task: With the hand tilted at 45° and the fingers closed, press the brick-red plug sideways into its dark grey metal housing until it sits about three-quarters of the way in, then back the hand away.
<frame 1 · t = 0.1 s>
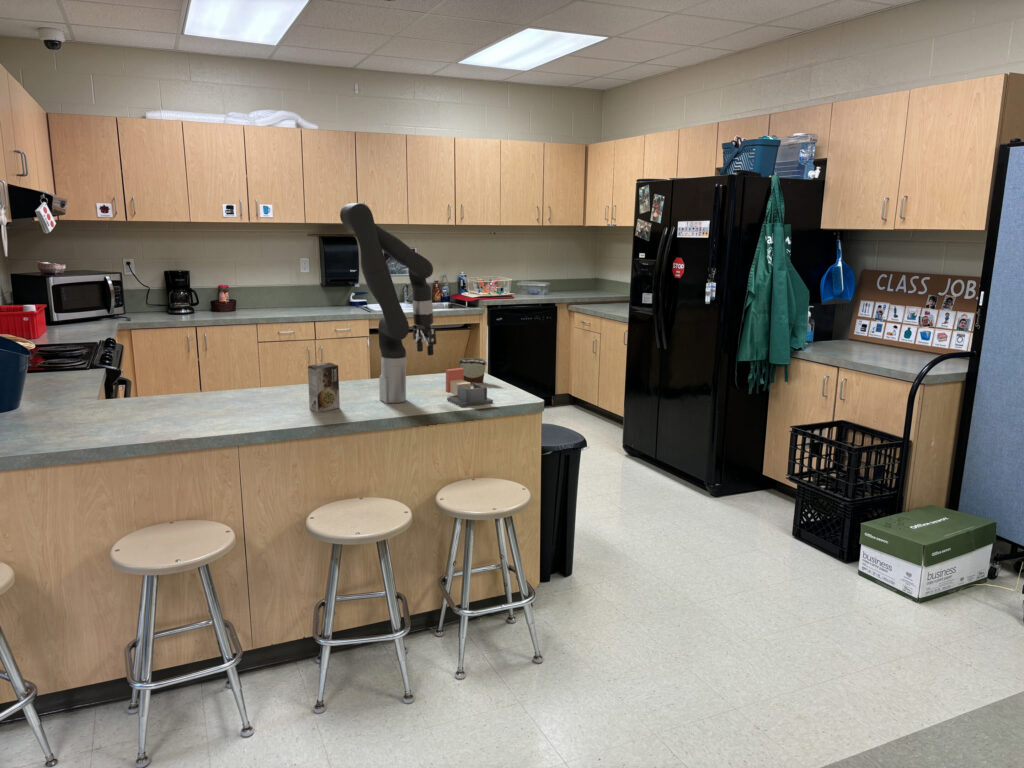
hand: (425, 353, 275), 17 cm above the worktop, tool pointing down, fingers open, 8 cm apart
food container: (473, 382, 307), on the worktop
red plug: (459, 382, 279), point 6 cm above the worktop, slide at 0.0 cm
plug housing: (469, 401, 274), on the worktop
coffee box: (324, 409, 258), on the worktop
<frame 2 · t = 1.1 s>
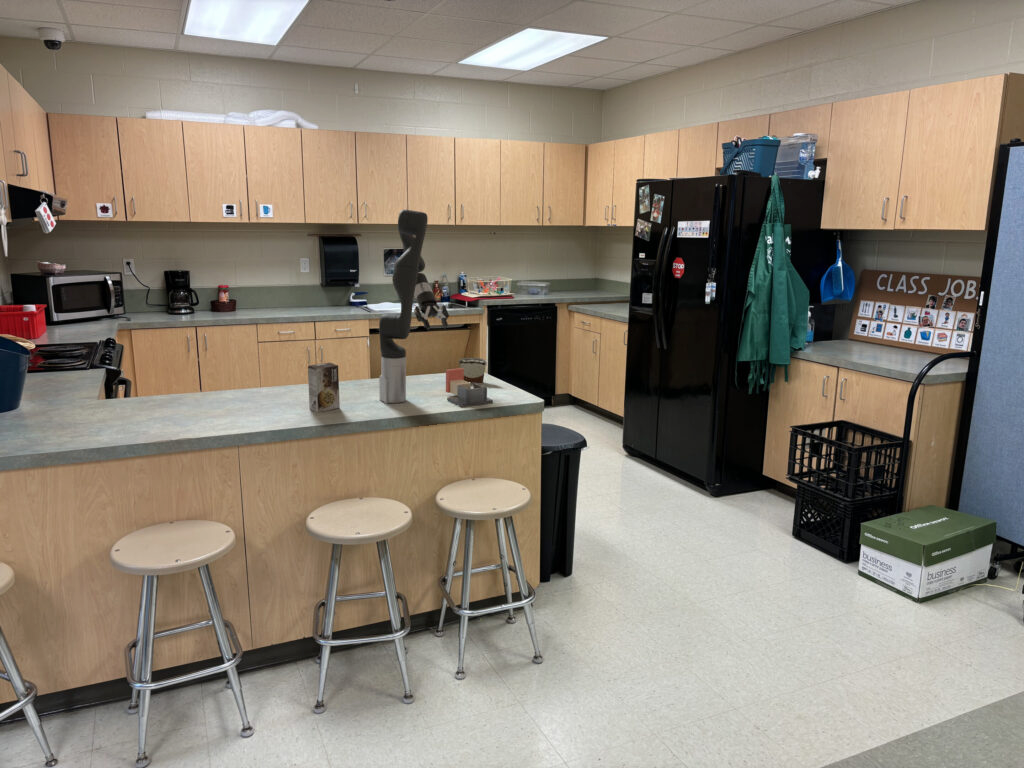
hand: (437, 327, 290), 25 cm above the worktop, tool tilted 45°, fingers open, 7 cm apart
nothing on the worktop moved.
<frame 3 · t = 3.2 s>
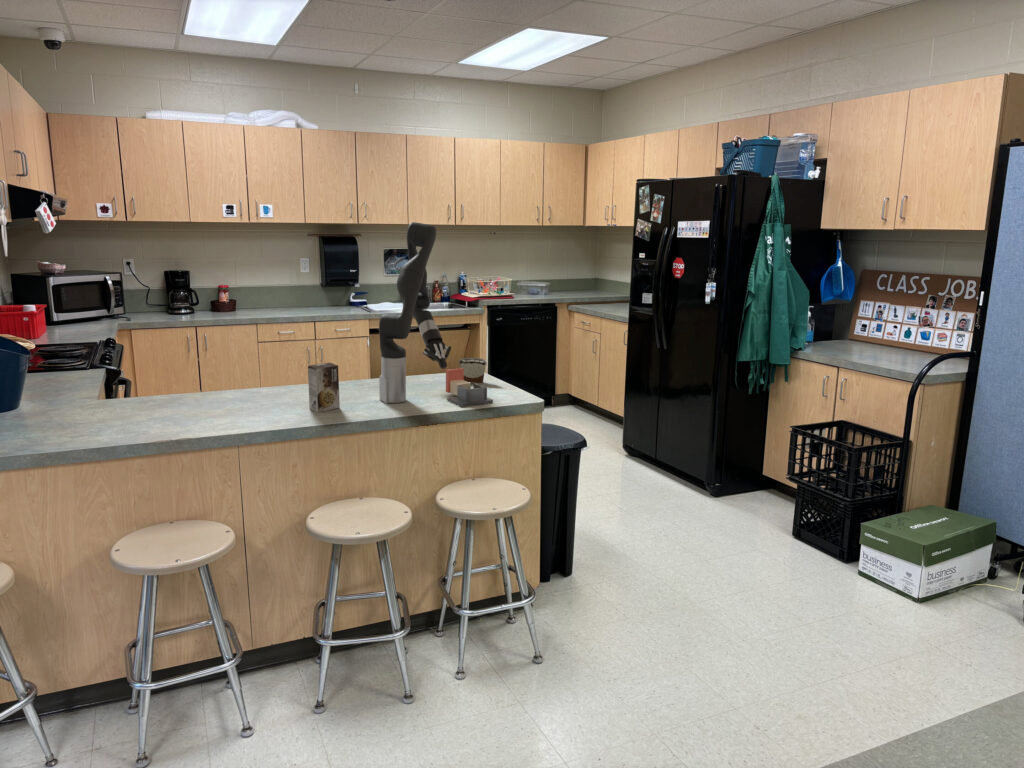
hand: (444, 367, 288), 9 cm above the worktop, tool tilted 45°, fingers closed
nothing on the worktop moved.
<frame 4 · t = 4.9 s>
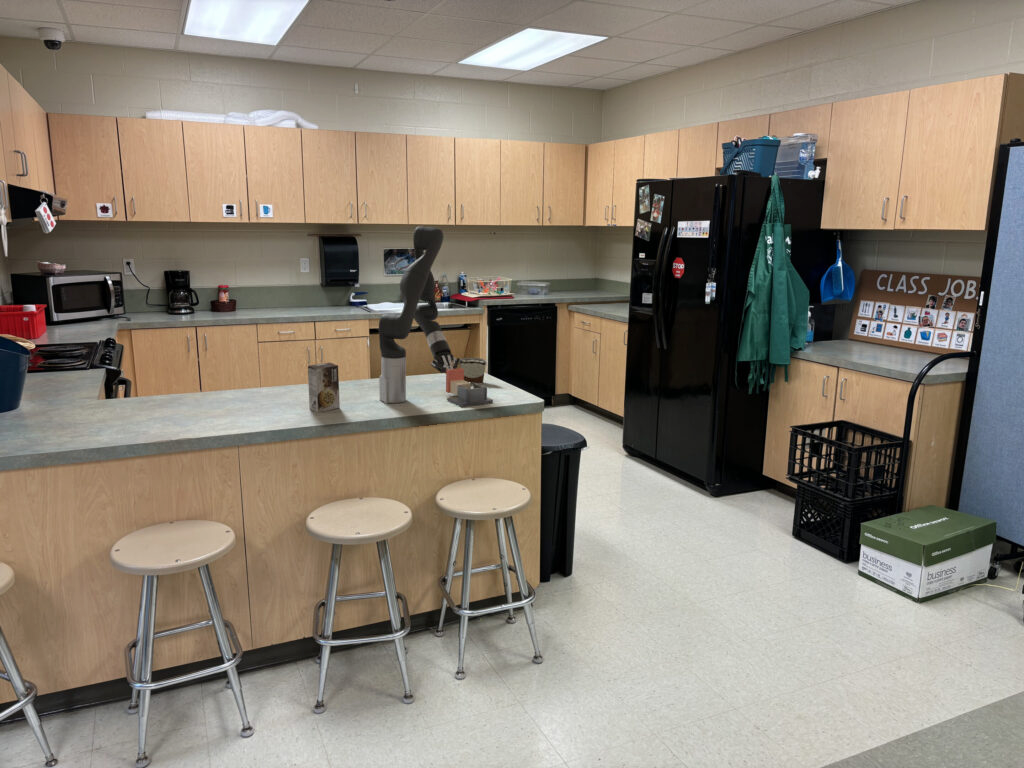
hand: (452, 379, 283), 6 cm above the worktop, tool tilted 45°, fingers closed
red plug: (459, 382, 279), point 6 cm above the worktop, slide at 0.2 cm, touching gripper
everything else where it was.
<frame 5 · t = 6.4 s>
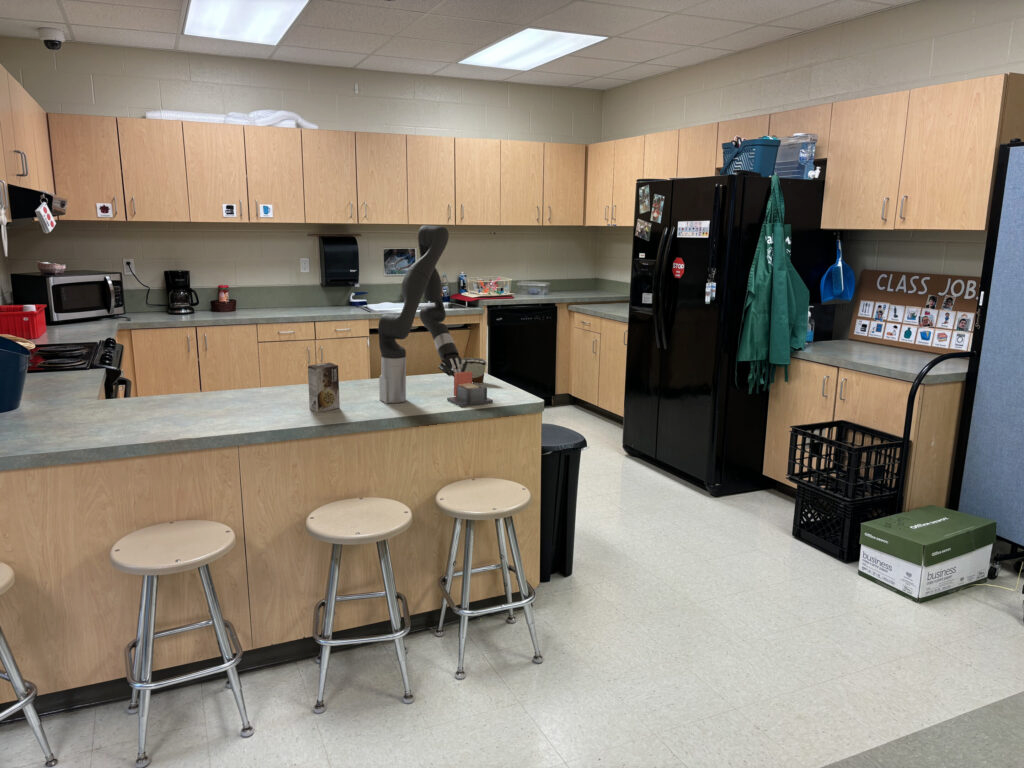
hand: (460, 383, 278), 6 cm above the worktop, tool tilted 45°, fingers closed
red plug: (467, 385, 274), point 6 cm above the worktop, slide at 6.5 cm, touching gripper
everything else where it was.
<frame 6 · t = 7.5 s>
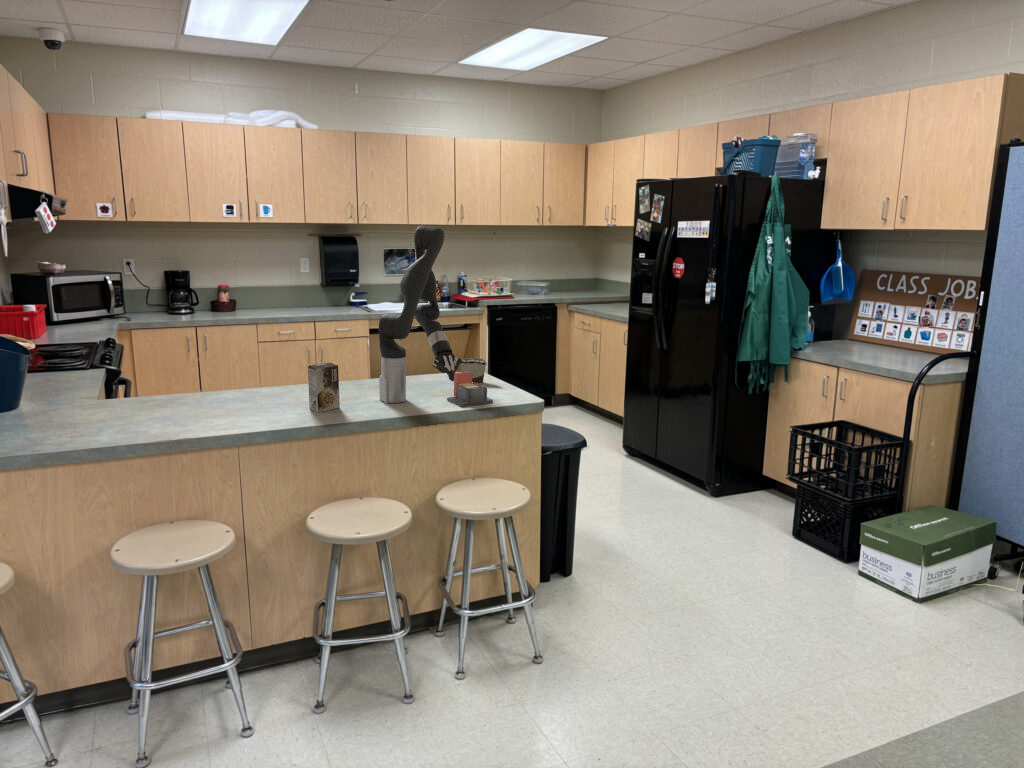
hand: (453, 380, 283), 6 cm above the worktop, tool tilted 45°, fingers closed
red plug: (467, 385, 274), point 6 cm above the worktop, slide at 6.5 cm
everything else where it was.
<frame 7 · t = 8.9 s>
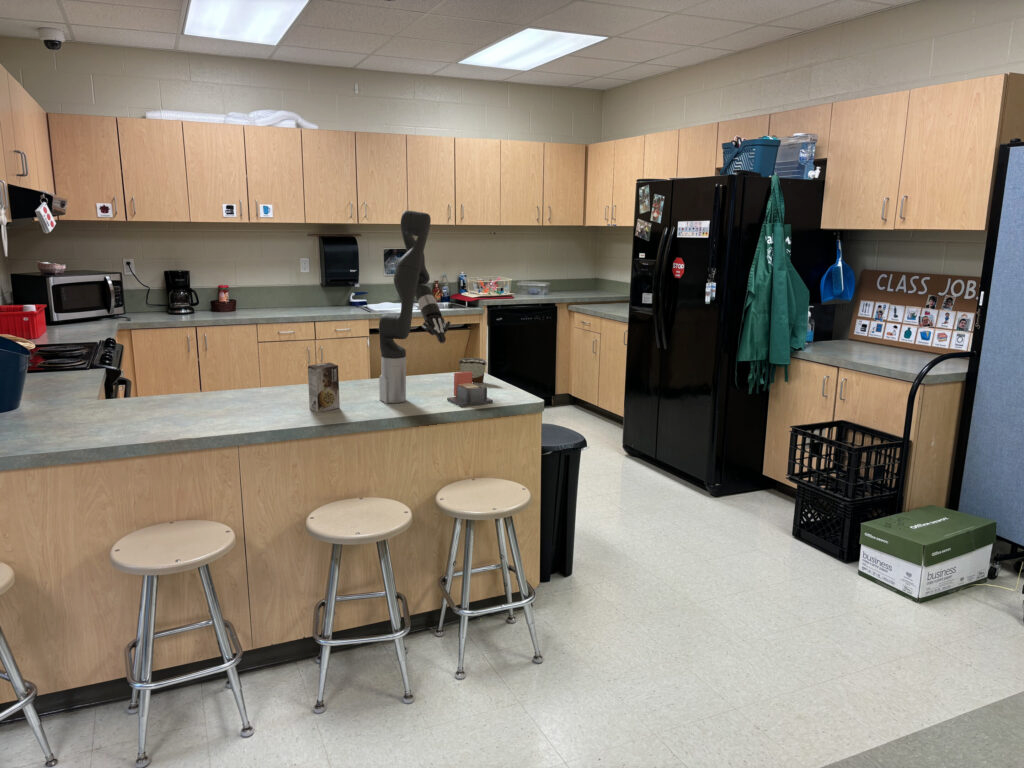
hand: (443, 342, 286), 20 cm above the worktop, tool tilted 45°, fingers closed
nothing on the worktop moved.
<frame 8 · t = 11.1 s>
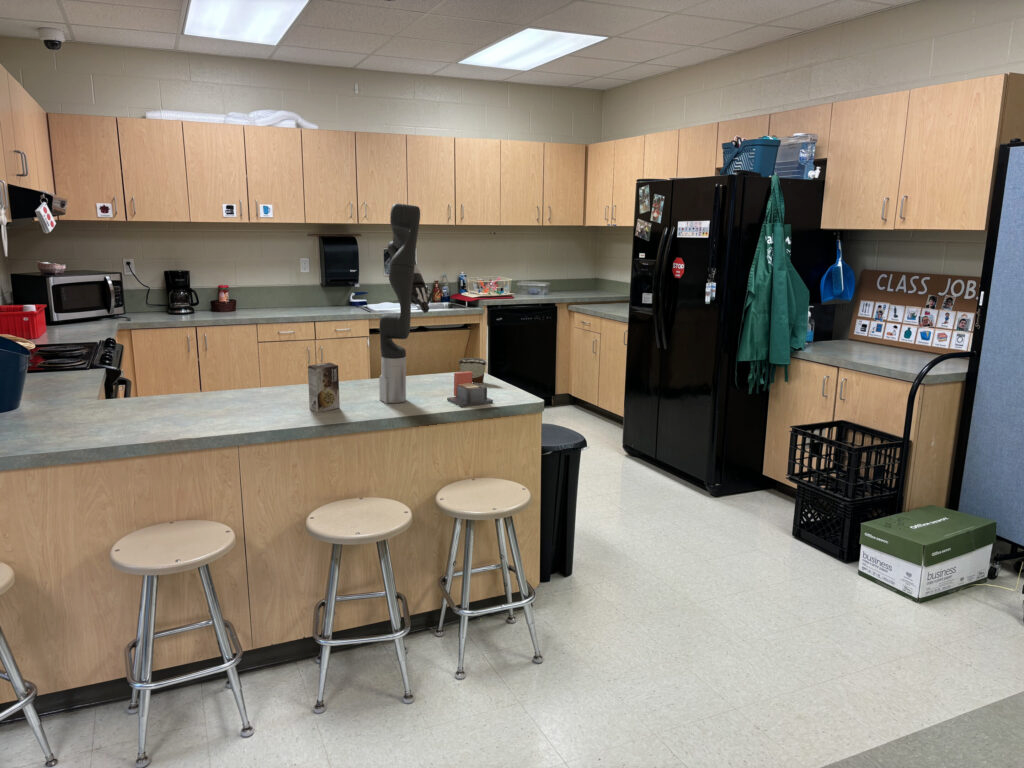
hand: (426, 311, 285), 32 cm above the worktop, tool tilted 45°, fingers closed
nothing on the worktop moved.
at the end: red plug slide at 6.5 cm; food container moved 0.2 cm from its start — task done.
